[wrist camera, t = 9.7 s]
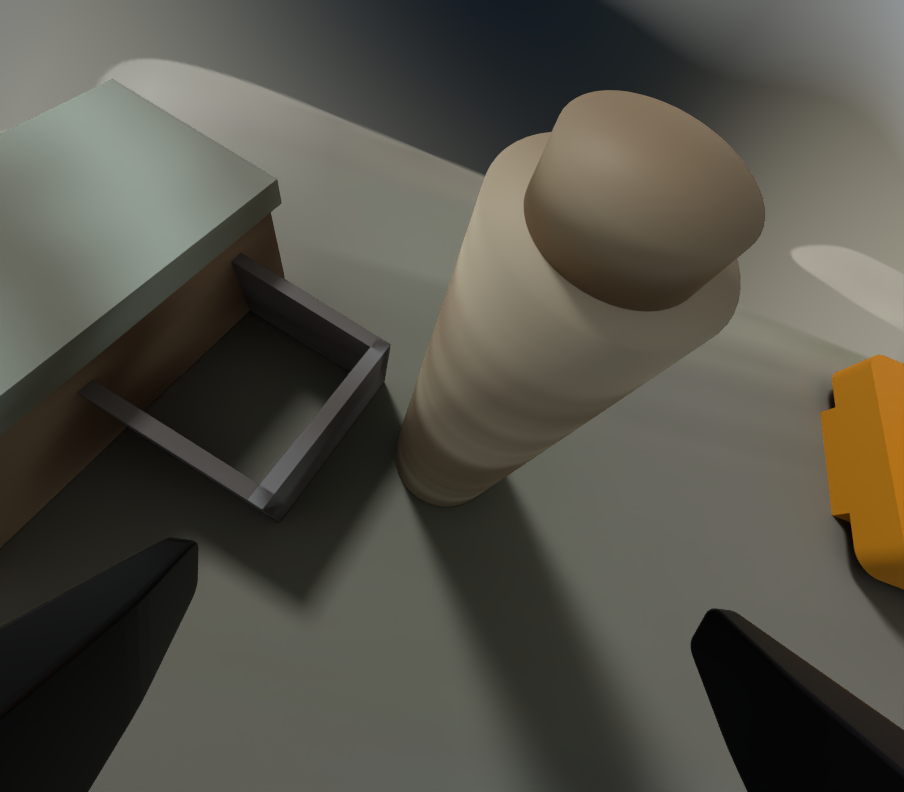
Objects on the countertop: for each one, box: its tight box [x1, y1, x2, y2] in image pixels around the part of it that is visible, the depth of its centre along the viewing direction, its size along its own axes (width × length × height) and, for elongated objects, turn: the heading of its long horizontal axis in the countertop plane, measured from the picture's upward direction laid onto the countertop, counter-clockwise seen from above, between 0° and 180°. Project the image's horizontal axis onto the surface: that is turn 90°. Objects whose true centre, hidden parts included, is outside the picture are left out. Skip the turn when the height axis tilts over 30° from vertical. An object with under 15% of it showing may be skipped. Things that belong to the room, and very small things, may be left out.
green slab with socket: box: [0, 79, 391, 548], centre depth 13 cm, size 15×12×5 cm
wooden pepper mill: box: [395, 90, 765, 507], centre depth 11 cm, size 4×4×13 cm
